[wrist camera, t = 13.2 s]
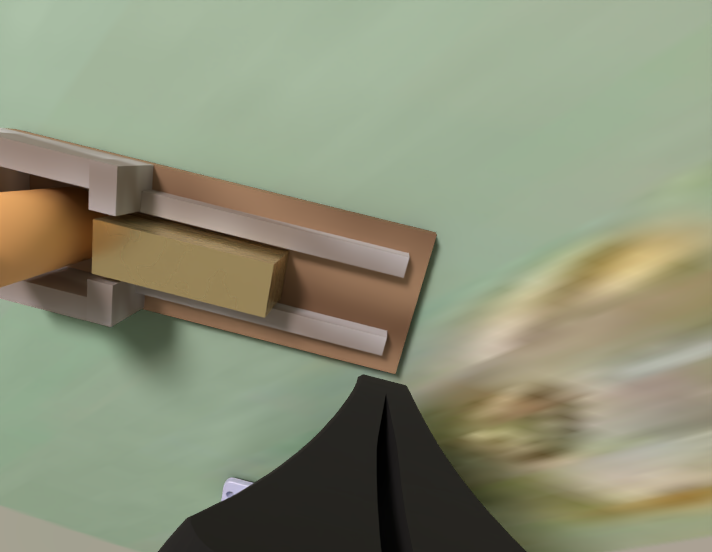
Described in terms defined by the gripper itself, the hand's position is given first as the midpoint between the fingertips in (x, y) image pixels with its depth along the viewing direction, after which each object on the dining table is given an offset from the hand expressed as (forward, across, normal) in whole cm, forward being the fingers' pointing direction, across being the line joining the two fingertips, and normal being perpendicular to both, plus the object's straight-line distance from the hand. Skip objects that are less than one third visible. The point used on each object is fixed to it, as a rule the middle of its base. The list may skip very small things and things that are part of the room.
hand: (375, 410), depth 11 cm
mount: (+9, +9, 0) cm, 13 cm away
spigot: (+9, +16, 0) cm, 18 cm away
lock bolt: (+9, +9, 0) cm, 13 cm away
